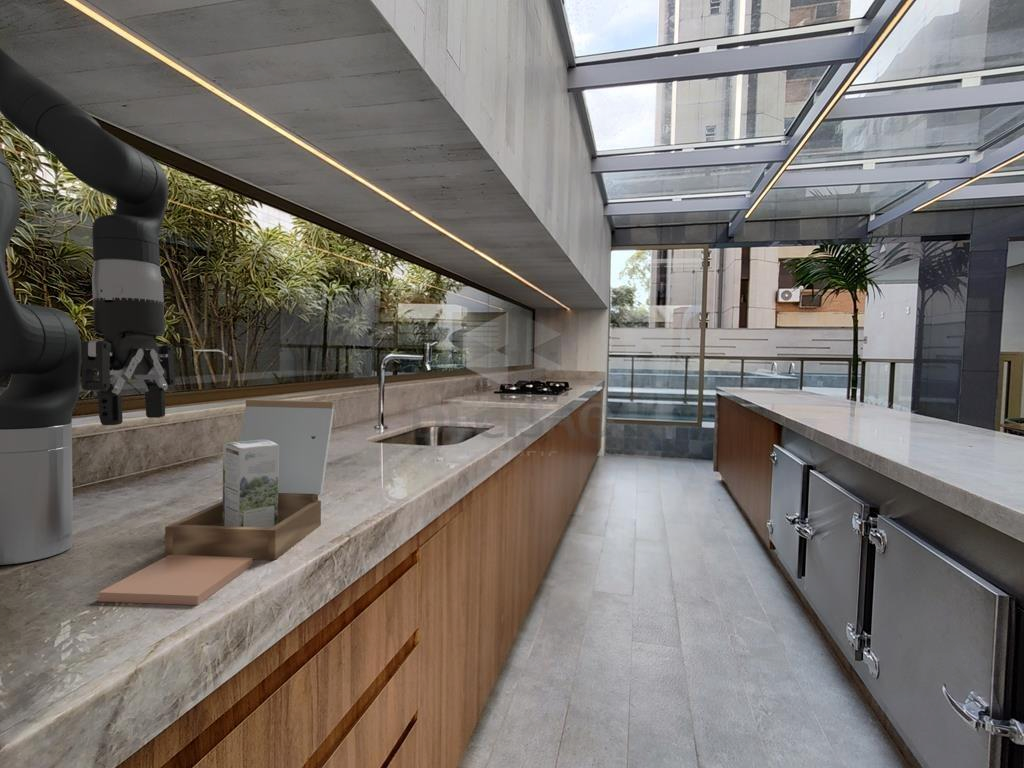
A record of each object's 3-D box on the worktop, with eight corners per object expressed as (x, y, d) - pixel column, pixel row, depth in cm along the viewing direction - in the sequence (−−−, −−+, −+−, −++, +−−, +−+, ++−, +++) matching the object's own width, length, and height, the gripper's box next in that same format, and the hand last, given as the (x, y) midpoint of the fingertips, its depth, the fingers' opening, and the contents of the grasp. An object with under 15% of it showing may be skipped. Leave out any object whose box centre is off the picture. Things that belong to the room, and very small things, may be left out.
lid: (228, 493, 83) (228, 402, 83) (249, 484, 89) (249, 399, 89) (320, 495, 83) (320, 404, 82) (334, 486, 89) (335, 401, 88)
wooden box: (165, 556, 69) (164, 452, 68) (243, 515, 88) (243, 433, 87) (275, 559, 68) (275, 455, 68) (330, 517, 87) (330, 435, 87)
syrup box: (260, 530, 80) (261, 438, 80) (279, 539, 76) (279, 442, 76) (221, 539, 76) (221, 441, 75) (239, 549, 72) (239, 446, 71)
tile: (98, 601, 56) (98, 592, 56) (169, 562, 67) (169, 554, 67) (197, 604, 55) (197, 595, 55) (252, 565, 66) (252, 557, 66)
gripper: (136, 305, 75) (141, 416, 75) (54, 291, 60) (61, 428, 61) (189, 304, 75) (194, 415, 76) (120, 290, 61) (126, 426, 61)
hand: (135, 421), depth 68 cm, fingers open, 8 cm apart
